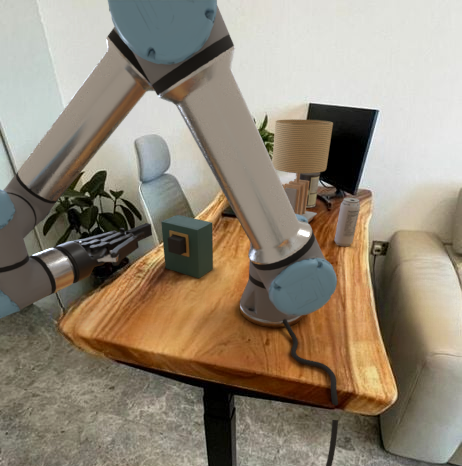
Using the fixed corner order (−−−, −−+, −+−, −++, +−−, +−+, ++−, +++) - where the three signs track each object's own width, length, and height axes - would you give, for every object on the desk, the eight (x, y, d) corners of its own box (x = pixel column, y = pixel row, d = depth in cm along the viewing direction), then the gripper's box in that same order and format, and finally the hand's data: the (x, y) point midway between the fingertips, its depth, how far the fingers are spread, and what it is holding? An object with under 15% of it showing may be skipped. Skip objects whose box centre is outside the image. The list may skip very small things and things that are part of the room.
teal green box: (198, 279, 97) (196, 230, 90) (164, 268, 102) (160, 221, 95) (213, 269, 102) (212, 222, 95) (180, 259, 107) (177, 214, 100)
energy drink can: (345, 239, 124) (353, 196, 116) (355, 245, 119) (365, 201, 111) (330, 241, 122) (337, 197, 114) (340, 247, 117) (349, 203, 109)
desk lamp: (307, 233, 128) (321, 125, 110) (259, 223, 137) (265, 122, 118) (325, 219, 142) (340, 121, 124) (280, 210, 151) (289, 118, 133)
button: (180, 255, 93) (179, 241, 91) (168, 251, 95) (167, 237, 93) (191, 248, 97) (190, 235, 95) (180, 245, 99) (179, 232, 97)
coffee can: (296, 208, 154) (299, 174, 147) (290, 201, 163) (293, 169, 156) (318, 207, 156) (323, 174, 148) (311, 201, 164) (315, 169, 157)
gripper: (46, 275, 71) (131, 238, 88) (90, 292, 65) (172, 249, 82) (35, 240, 67) (126, 208, 84) (81, 255, 61) (169, 218, 78)
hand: (149, 229), depth 83 cm, fingers closed
